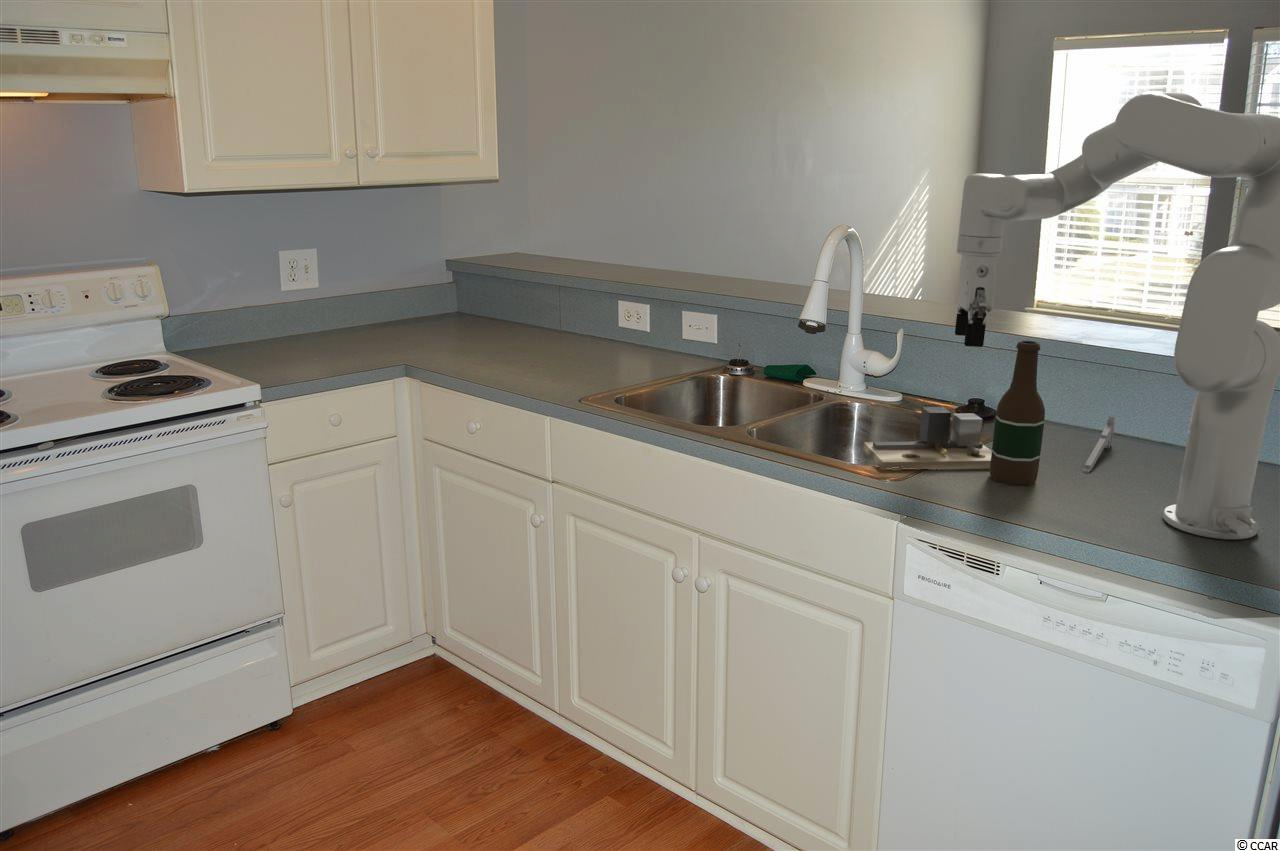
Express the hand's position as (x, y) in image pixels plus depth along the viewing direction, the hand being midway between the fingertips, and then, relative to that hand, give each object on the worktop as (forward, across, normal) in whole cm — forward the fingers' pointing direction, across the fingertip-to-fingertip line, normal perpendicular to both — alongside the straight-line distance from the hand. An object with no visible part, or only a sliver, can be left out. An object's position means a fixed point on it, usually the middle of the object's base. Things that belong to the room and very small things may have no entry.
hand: (968, 340), depth 182 cm
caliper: (+21, -1, -25) cm, 33 cm away
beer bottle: (+21, -15, -7) cm, 27 cm away
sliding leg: (+19, -5, +4) cm, 20 cm away
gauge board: (+21, -6, +5) cm, 22 cm away
